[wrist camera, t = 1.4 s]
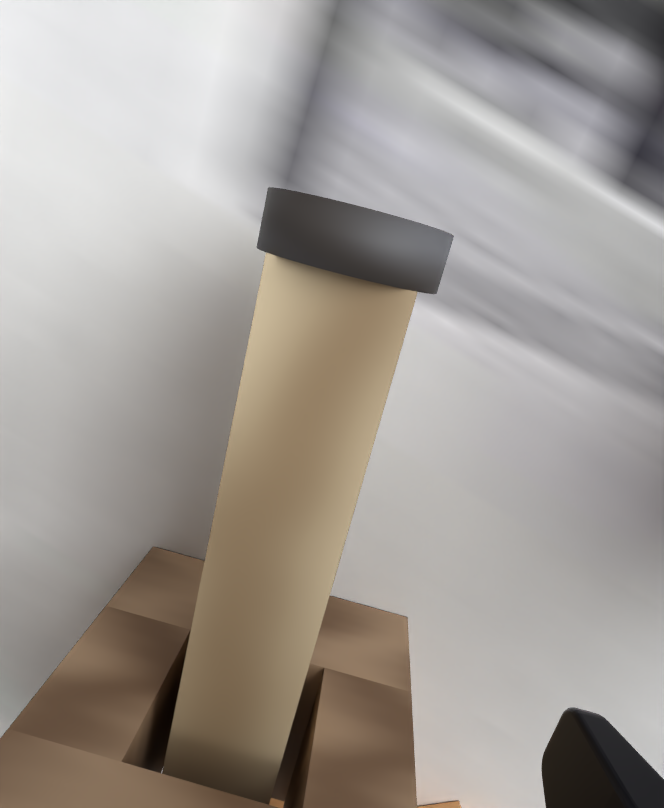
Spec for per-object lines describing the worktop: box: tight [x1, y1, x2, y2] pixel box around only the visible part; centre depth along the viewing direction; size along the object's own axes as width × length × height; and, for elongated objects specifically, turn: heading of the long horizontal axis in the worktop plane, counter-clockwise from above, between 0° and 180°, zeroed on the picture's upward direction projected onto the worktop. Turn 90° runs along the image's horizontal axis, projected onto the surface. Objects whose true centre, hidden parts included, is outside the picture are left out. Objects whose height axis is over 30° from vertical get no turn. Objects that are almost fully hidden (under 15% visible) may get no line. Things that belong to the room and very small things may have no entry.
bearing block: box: [0, 547, 417, 808], centre depth 16 cm, size 10×6×10 cm, turn 76°
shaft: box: [162, 187, 454, 805], centre depth 15 cm, size 4×23×4 cm, turn 166°
